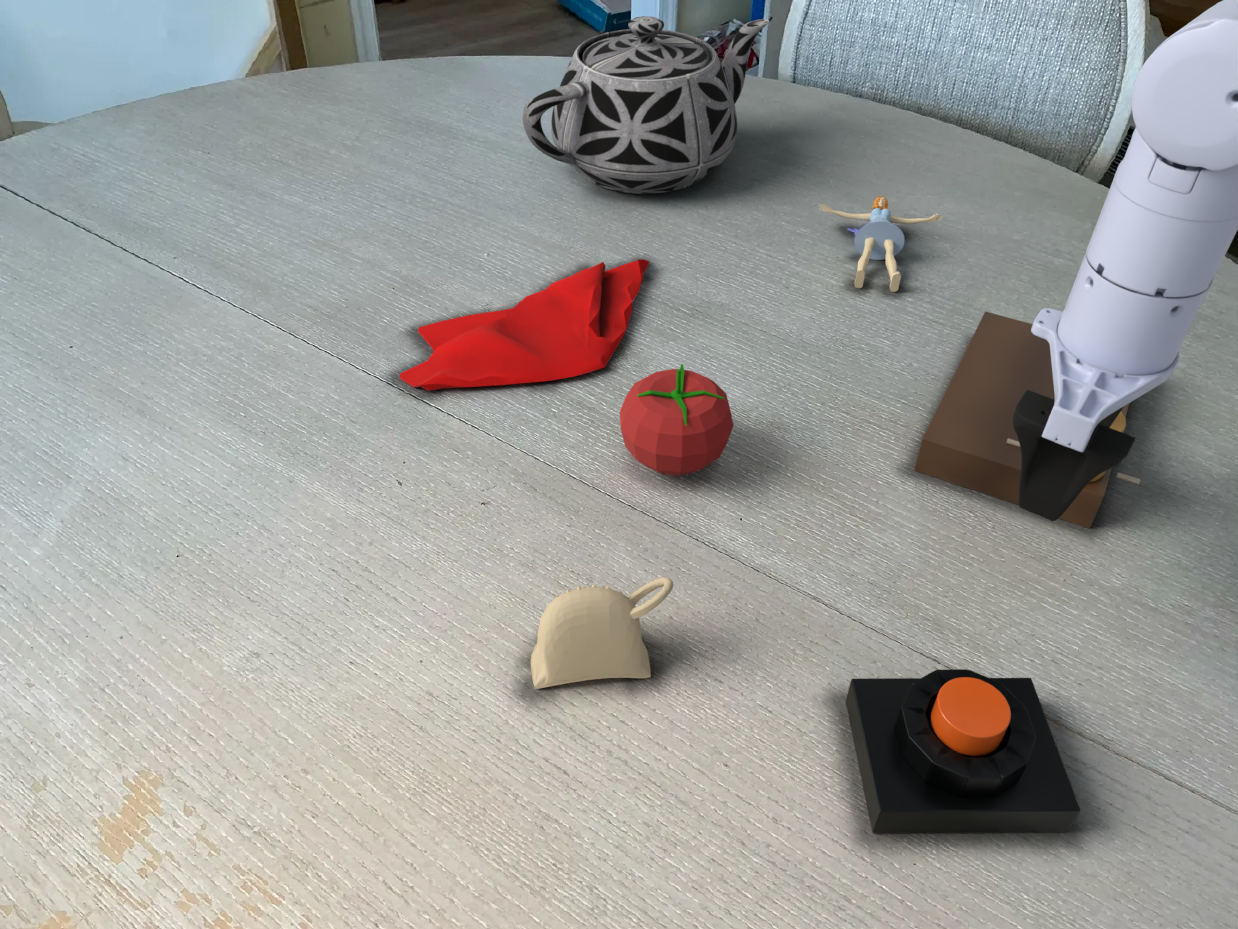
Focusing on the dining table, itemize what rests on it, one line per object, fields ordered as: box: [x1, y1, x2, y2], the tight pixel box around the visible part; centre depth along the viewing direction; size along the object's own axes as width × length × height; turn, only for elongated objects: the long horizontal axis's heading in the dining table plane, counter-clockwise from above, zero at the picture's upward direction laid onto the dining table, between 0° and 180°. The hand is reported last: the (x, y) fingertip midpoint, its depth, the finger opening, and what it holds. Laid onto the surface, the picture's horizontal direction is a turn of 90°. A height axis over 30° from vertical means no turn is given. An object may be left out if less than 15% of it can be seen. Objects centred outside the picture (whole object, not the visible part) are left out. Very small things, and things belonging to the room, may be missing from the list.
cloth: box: [399, 258, 650, 392], centre depth 83 cm, size 26×14×2 cm, turn 124°
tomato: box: [619, 363, 735, 477], centre depth 70 cm, size 8×8×8 cm
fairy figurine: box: [818, 195, 945, 293], centre depth 92 cm, size 12×5×12 cm
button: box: [931, 677, 1011, 756], centre depth 51 cm, size 4×4×2 cm
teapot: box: [522, 15, 769, 195], centre depth 103 cm, size 19×31×15 cm, turn 127°
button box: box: [845, 668, 1081, 834], centre depth 53 cm, size 10×8×4 cm
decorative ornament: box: [530, 576, 674, 690], centre depth 58 cm, size 4×8×5 cm, turn 96°
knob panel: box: [913, 311, 1141, 529], centre depth 74 cm, size 14×20×3 cm
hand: (1059, 471), depth 58 cm, fingers open, 7 cm apart
